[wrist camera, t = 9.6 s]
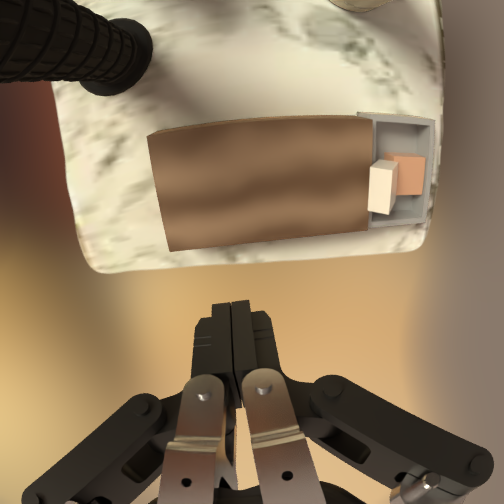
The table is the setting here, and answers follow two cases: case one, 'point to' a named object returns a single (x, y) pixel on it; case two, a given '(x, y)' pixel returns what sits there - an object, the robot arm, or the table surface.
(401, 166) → the terracotta tile
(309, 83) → the table surface
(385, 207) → the cream tile
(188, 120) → the table surface
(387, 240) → the table surface
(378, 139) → the box
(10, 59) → the handle grip
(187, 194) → the walnut platform
